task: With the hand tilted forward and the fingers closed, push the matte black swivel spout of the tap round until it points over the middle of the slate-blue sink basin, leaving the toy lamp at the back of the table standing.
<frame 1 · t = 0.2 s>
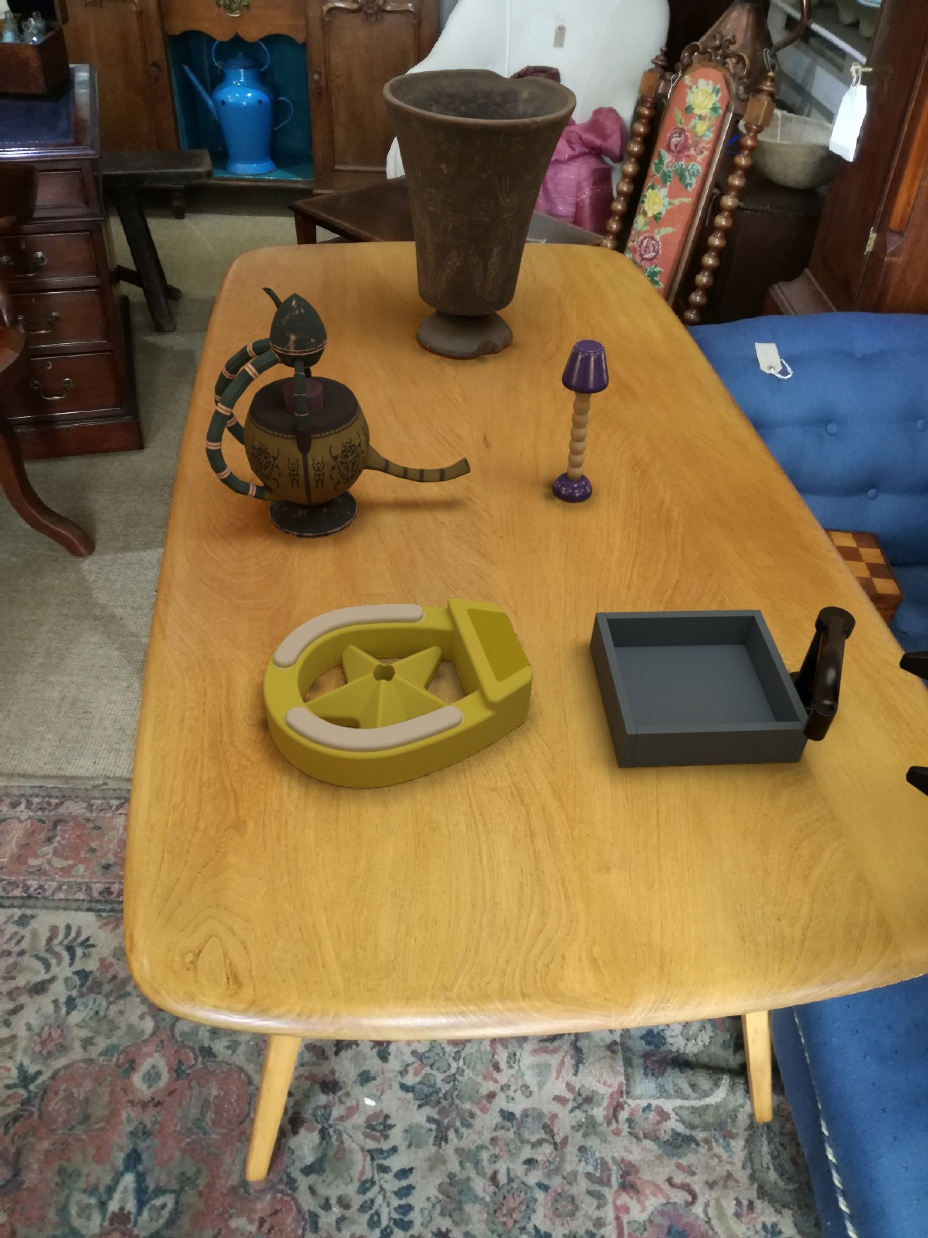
hand: (904, 713, 57), 16 cm above the table, tool horizontal, fingers open, 9 cm apart
sink: (688, 700, 79), on the table
toy lamp: (570, 490, 101), on the table
tap column: (803, 697, 80), on the table
teapot: (348, 511, 96), on the table
spout: (826, 669, 71), point 8 cm above the table, hinge at 0.0°, touching tap column
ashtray: (394, 703, 77), on the table
vase: (467, 340, 126), on the table
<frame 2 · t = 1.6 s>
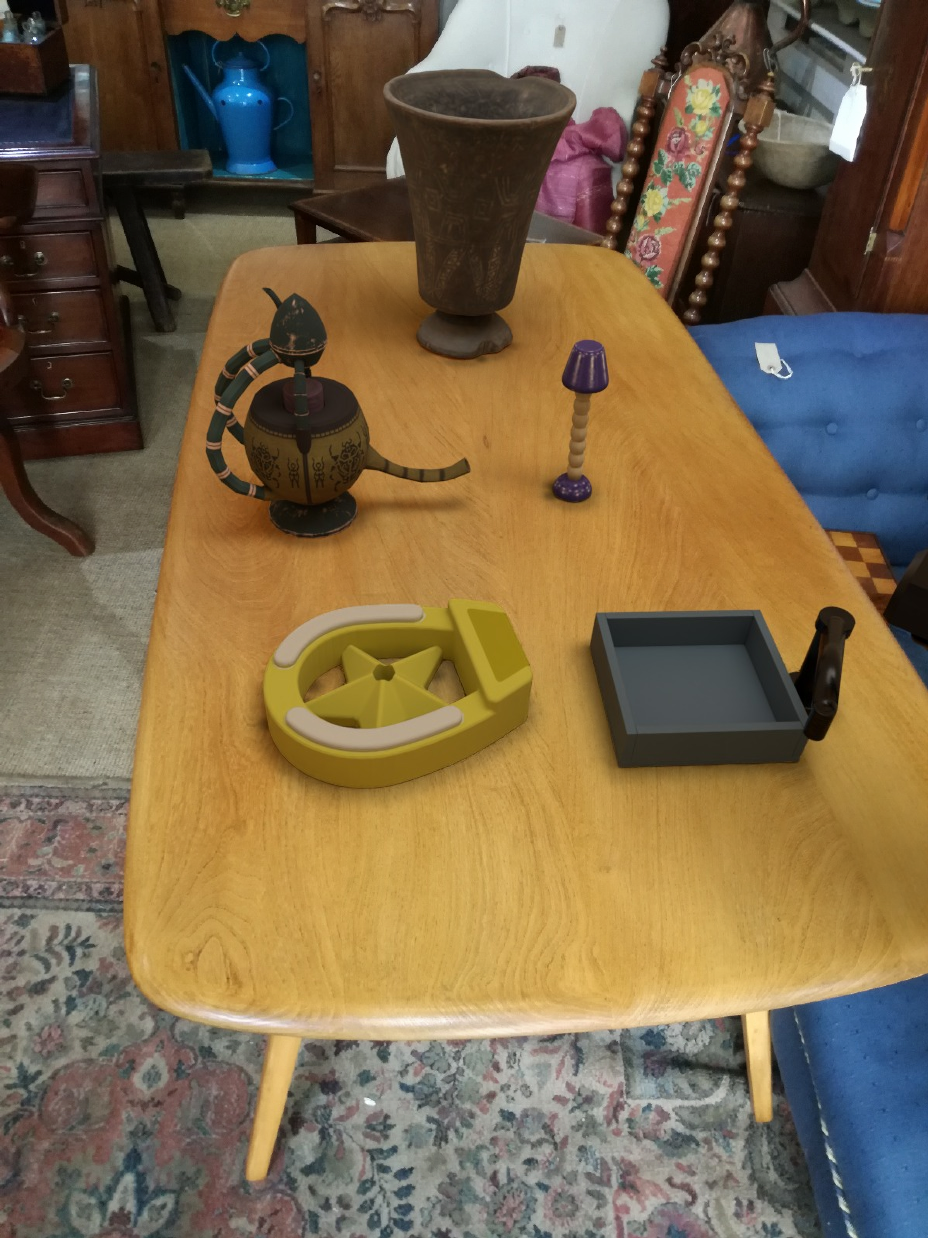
nothing on the table moved.
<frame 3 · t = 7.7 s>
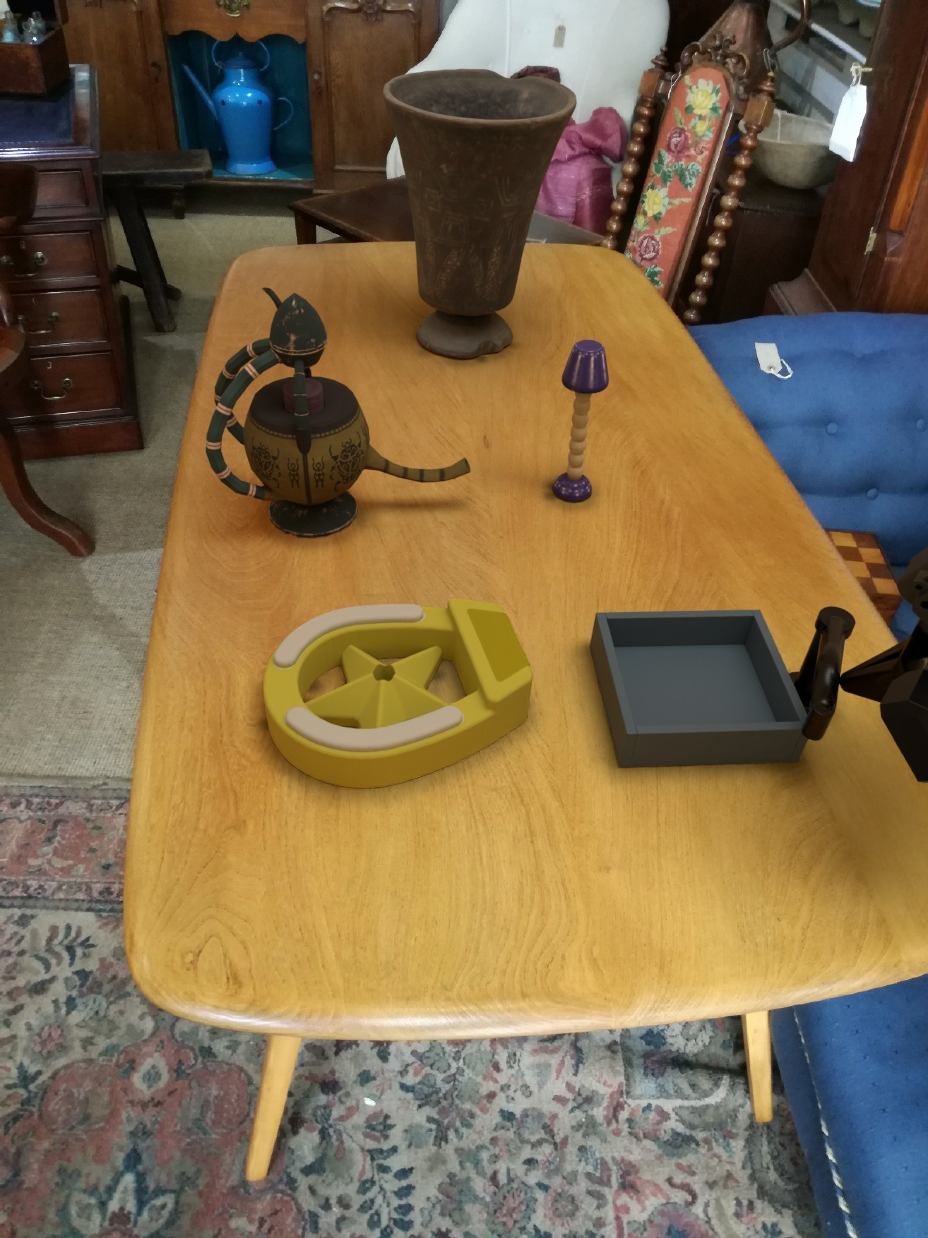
hand: (841, 682, 69), 9 cm above the table, tool tilted 45°, fingers closed, pressing on spout
spout: (826, 669, 71), point 8 cm above the table, hinge at 0.7°, touching gripper, tap column
everything else where it was.
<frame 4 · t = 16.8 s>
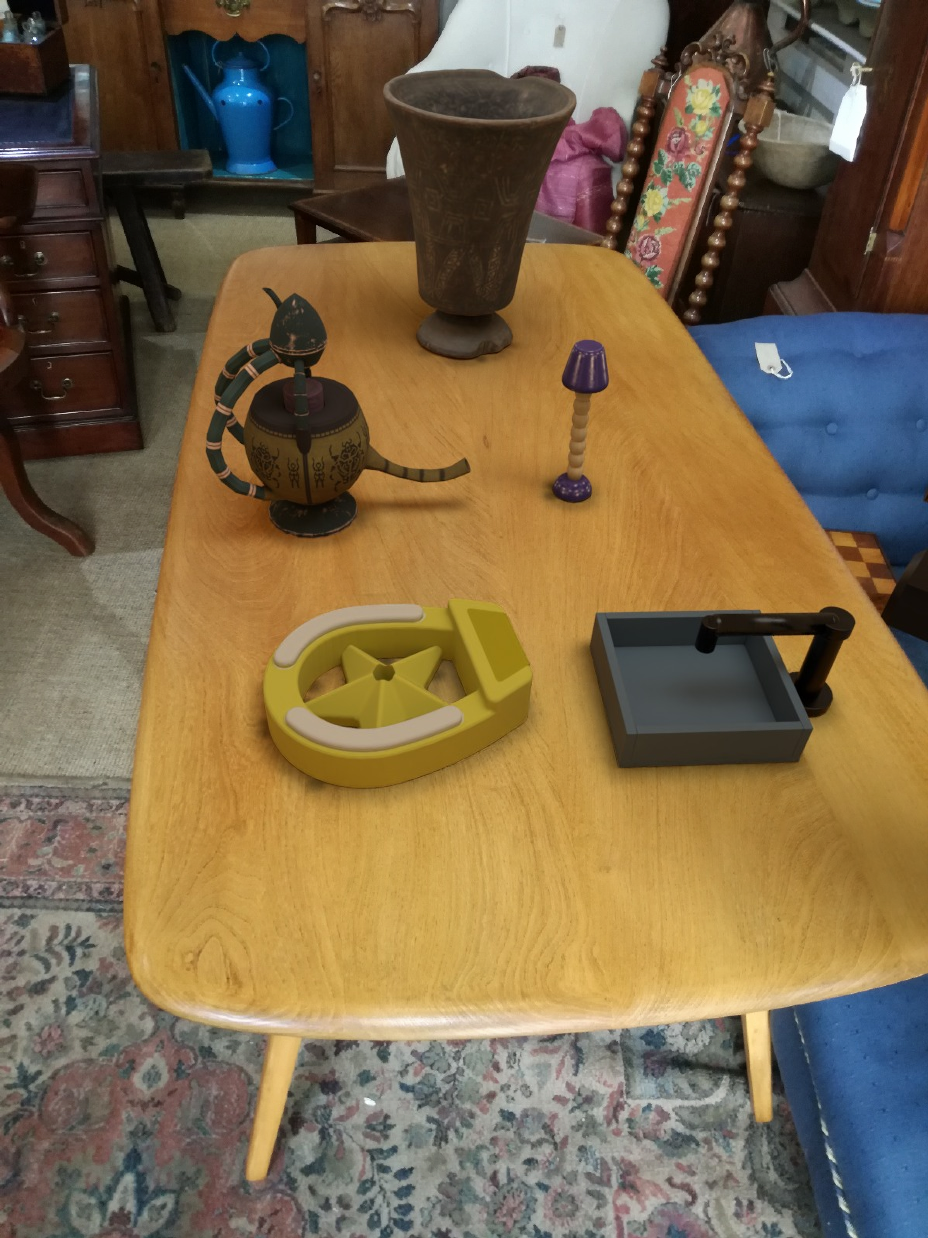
spout: (774, 631, 74), point 8 cm above the table, hinge at 65.4°, touching tap column
everything else where it was.
at the end: spout at +65° (first picture: +0°); toy lamp tilted 0° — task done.
